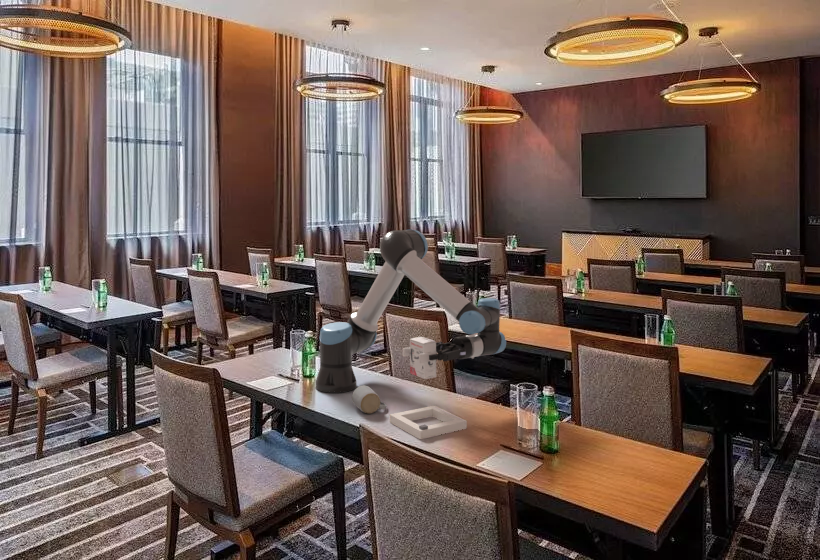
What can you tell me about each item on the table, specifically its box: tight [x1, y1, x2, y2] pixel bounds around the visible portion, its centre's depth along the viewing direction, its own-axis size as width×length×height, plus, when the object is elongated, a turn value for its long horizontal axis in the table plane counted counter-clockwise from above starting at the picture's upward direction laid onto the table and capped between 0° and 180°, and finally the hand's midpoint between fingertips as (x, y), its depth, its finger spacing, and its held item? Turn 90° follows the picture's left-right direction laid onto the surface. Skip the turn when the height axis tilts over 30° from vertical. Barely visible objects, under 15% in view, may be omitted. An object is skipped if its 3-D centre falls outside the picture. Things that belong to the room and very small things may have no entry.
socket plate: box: [389, 405, 468, 440], centre depth 191 cm, size 17×17×3 cm
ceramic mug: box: [351, 385, 387, 415], centre depth 204 cm, size 11×8×8 cm
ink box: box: [409, 336, 437, 380], centre depth 200 cm, size 9×5×12 cm, turn 35°
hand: (411, 355), depth 197 cm, fingers closed on ink box, 9 cm apart
